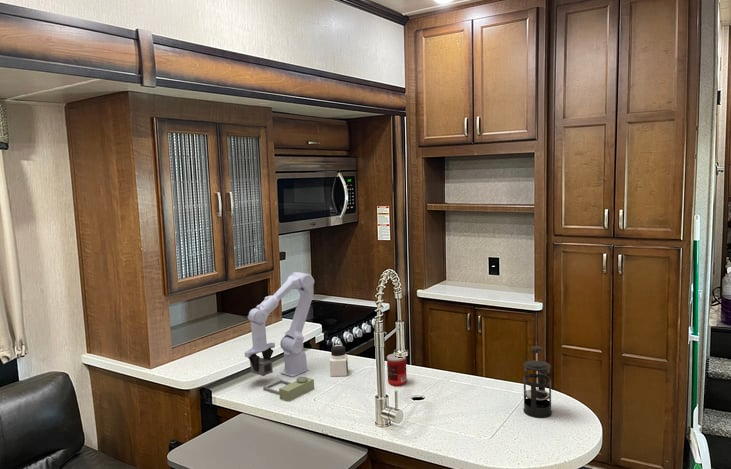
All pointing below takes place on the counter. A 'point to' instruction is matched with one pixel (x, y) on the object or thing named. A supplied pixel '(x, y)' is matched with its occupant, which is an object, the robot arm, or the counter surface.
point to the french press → (537, 395)
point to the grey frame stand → (292, 388)
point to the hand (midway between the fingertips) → (261, 368)
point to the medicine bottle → (338, 361)
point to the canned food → (396, 370)
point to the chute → (263, 367)
